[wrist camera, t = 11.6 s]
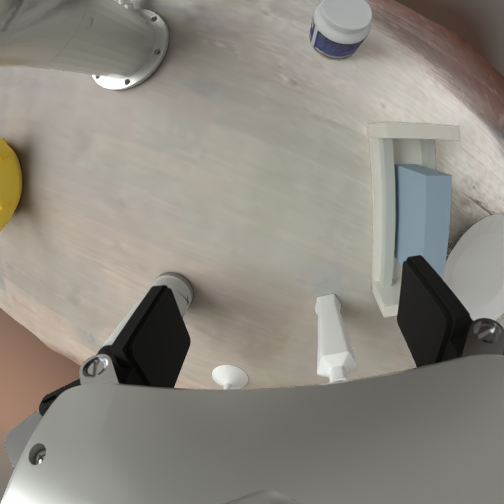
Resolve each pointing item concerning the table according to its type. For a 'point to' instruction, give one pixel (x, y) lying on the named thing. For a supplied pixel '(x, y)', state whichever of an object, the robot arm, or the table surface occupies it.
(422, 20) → the table surface
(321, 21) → the pill bottle
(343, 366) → the perfume bottle
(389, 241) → the track frame
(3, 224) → the teapot
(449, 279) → the plate
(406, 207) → the door panel
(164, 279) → the travel mug
